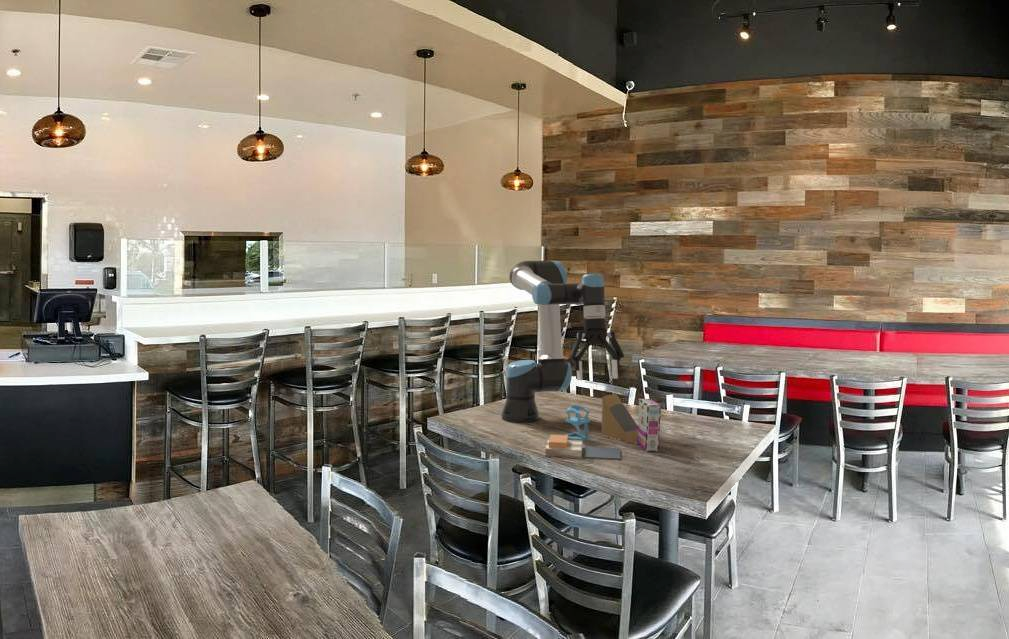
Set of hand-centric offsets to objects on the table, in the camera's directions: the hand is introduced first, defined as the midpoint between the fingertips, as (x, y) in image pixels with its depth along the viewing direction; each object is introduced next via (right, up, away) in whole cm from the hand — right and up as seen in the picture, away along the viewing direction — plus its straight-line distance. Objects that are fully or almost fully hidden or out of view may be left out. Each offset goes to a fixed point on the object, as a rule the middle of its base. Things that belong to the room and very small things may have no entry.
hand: (597, 379), depth 240 cm
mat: (+1, -25, -4) cm, 25 cm away
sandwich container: (+12, -23, +16) cm, 31 cm away
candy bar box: (+18, -25, +4) cm, 31 cm away
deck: (-12, -25, -2) cm, 27 cm away
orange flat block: (-14, -22, -2) cm, 26 cm away
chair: (-6, -23, +14) cm, 28 cm away
